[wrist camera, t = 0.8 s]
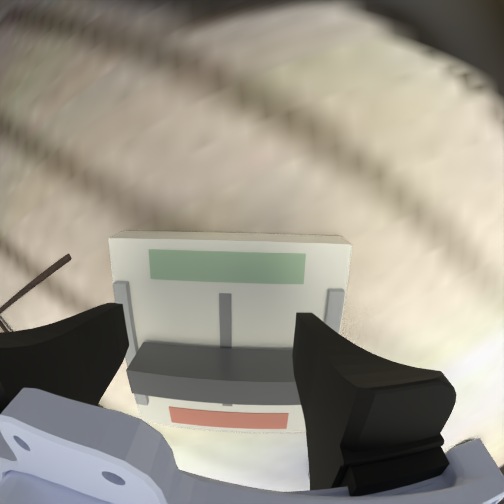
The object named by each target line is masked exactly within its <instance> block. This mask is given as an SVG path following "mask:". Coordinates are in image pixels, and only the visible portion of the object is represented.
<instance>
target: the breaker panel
mask: <svg viewBox="0 0 504 504" xmlns="http://www.w3.org/2000/svg"><path fill="white" fill-rule="evenodd" d="M108 239H109V251H110V261H111V271H112V279H113V289H114V296H115V303H119V304H123V309H124V316H125V322H126V328H127V334H128V340H129V348H128V350H127V353H126V355H125V358H126V363H127V367H128V366H129V365H130V363H131V361H132V360H133V358H134V356H135V355H136V353H137V352H138V350H139V348H140V347H141V345H142V343H143V342H151V343H161V344H171V345H183V346H196V347H211V348H229V349H258V350H293V342H294V332H295V322H296V312H304V313H313V314H314V315H316V316H317V317H318V318H319V319H321V320H322V321H323V322H324V323H325V324H327V325H328V326H329V327H330V328H332V329H333V330H334V331H336V332H337V333H338V334H340V331H341V325H342V319H343V313H344V306H345V299H346V292H347V285H348V277H349V269H350V260H351V251H352V244H351V243H350V242H349V241H347V240H346V239H345V238H344V237H342V236H325V235H298V234H266V233H228V232H178V231H122V232H120V233H118V234H116V235H114V236H112V237H110V238H108ZM134 396H135V399H136V403H137V406H138V410H139V413H140V417H141V419H142V420H143V421H144V422H147V423H153V424H159V425H166V426H173V427H181V428H189V429H199V430H209V431H223V432H242V433H301V432H306V426H305V420H304V415H303V411H302V407H301V405H238V404H219V403H206V402H195V401H185V400H176V399H168V398H160V397H153V396H147V395H140V394H134Z"/></svg>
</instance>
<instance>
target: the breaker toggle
mask: <svg viewBox="0 0 504 504" xmlns="http://www.w3.org/2000/svg"><path fill="white" fill-rule="evenodd" d="M292 351H293V350H258V349H229V348H211V347H196V346H183V345H171V344H161V343H151V342H143V343H142V345H141V347H140V348H139V350H138V352H137V353H136V355H135V356H134V358H133V360H132V361H131V363H130V365H129V366H128V368H127V370H126V371H127V375H128V379H129V383H130V387H131V391H132V393H134V394H140V395H147V396H153V397H160V398H168V399H176V400H185V401H195V402H206V403H219V404H238V405H301V402H300V398H299V394H298V390H297V386H296V382H295V377H294V371H293V360H292Z"/></svg>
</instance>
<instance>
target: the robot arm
mask: <svg viewBox="0 0 504 504" xmlns="http://www.w3.org/2000/svg"><path fill="white" fill-rule="evenodd" d="M128 348H129V340H128V334H127V328H126V322H125V316H124V309H123V304H119V303H106V304H103V305H100V306H97V307H95V308H92V309H89V310H87V311H84V312H82V313H79V314H77V315H74V316H72V317H69V318H66V319H64V320H61V321H58V322H55V323H52V324H49V325H45V326H41V327H37V328H33V329H27V330H21V331H15V332H4V333H0V504H497V503H498V502H499V501H500V500H501V499H502V498H503V497H504V476H503V474H502V473H501V471H500V469H499V468H498V466H497V465H496V463H495V461H494V460H493V458H492V457H491V455H490V454H489V452H488V450H487V449H486V447H485V446H484V444H483V443H482V441H481V440H480V438H477V439H474V440H472V441H469V442H467V443H464V444H461V445H458V446H455V447H453V448H451V449H450V450H449V451H447V452H446V453H444V452H443V450H442V448H441V446H442V445H443V444H444V439H443V437H442V436H441V434H440V432H441V431H442V429H443V427H444V425H445V423H446V422H447V420H448V418H449V416H450V414H451V412H452V410H453V407H454V405H455V402H456V392H455V389H454V387H453V386H452V385H451V383H450V382H449V381H448V380H447V378H446V377H445V376H444V374H443V373H442V372H441V371H435V370H428V369H421V368H415V367H411V366H407V365H403V364H399V363H396V362H393V361H390V360H387V359H384V358H382V357H379V356H377V355H374V354H372V353H370V352H368V351H366V350H364V349H362V348H360V347H358V346H357V345H355V344H353V343H352V342H350V341H349V340H347V339H346V338H344V337H343V336H341V335H340V334H338V333H337V332H336V331H334V330H333V329H332V328H330V327H329V326H328V325H327V324H325V323H324V322H323V321H322V320H321V319H319V318H318V317H317V316H316V315H314V314H313V313H304V312H296V322H295V332H294V342H293V351H292V360H293V371H294V377H295V382H296V386H297V390H298V394H299V398H300V402H301V407H302V411H303V415H304V420H305V426H306V436H307V447H308V459H309V475H308V476H309V478H310V491H295V492H278V491H271V490H264V489H258V488H252V487H247V486H242V485H237V484H232V483H227V482H223V481H219V480H214V479H210V478H207V477H203V476H199V475H195V474H192V473H188V472H185V471H182V470H179V469H178V467H177V465H176V462H175V459H174V455H173V451H172V449H171V447H170V446H169V445H168V443H167V442H166V440H165V438H164V437H163V435H162V434H161V433H160V432H158V431H157V430H156V429H154V428H153V427H151V426H150V425H148V424H147V423H146V422H144V421H143V420H142V419H139V418H136V417H133V416H131V415H128V414H125V413H123V412H120V411H115V410H111V409H106V408H102V407H98V406H97V405H98V403H99V401H100V399H101V397H102V396H103V394H104V392H105V391H106V389H107V387H108V386H109V384H110V382H111V381H112V379H113V377H114V376H115V374H116V373H117V371H118V369H119V368H120V366H121V364H122V362H123V360H124V358H125V355H126V353H127V350H128Z"/></svg>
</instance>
